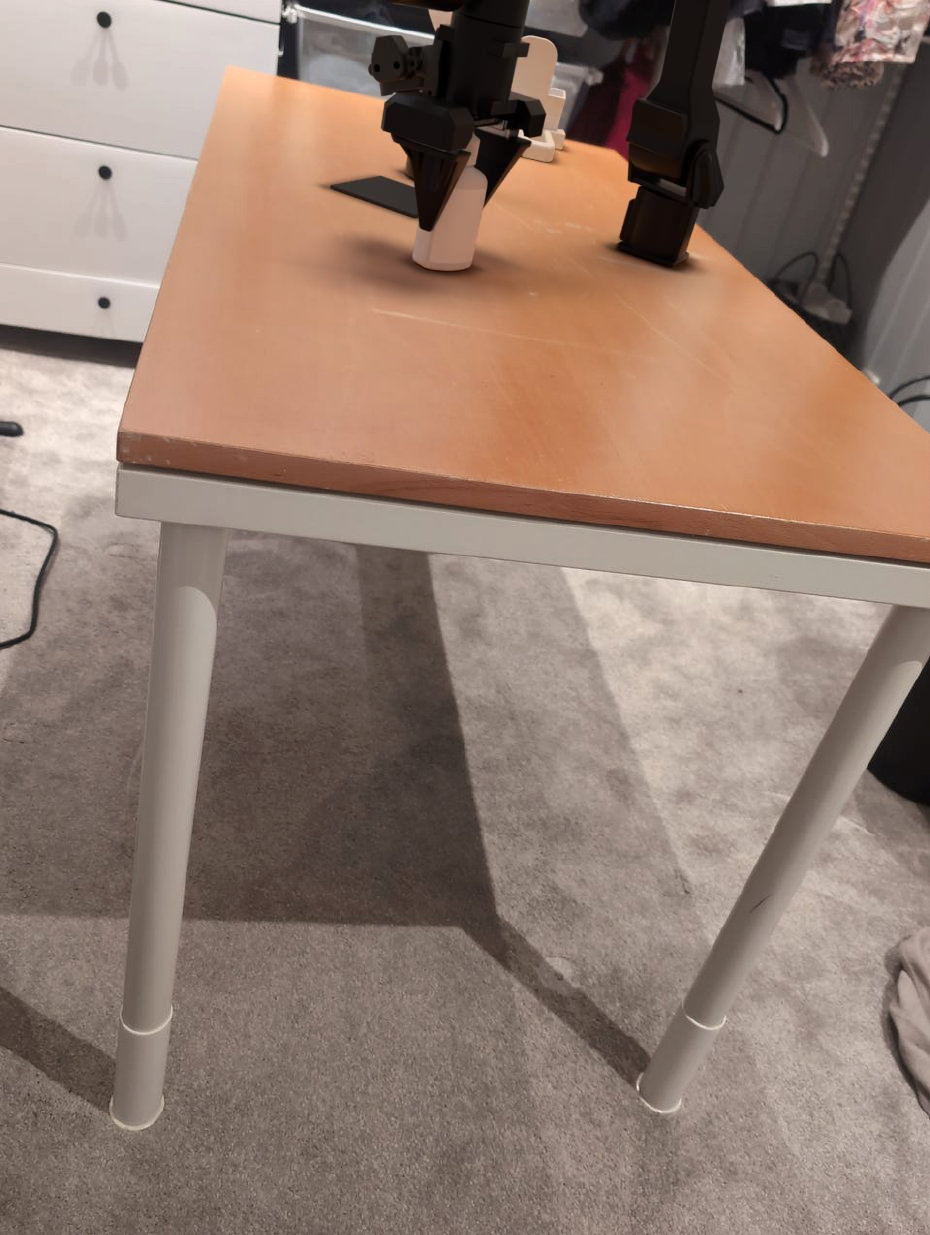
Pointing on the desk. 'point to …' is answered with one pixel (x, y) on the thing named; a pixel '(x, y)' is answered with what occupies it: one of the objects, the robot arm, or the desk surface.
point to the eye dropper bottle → (455, 222)
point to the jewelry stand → (533, 90)
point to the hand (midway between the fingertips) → (449, 223)
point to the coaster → (382, 193)
